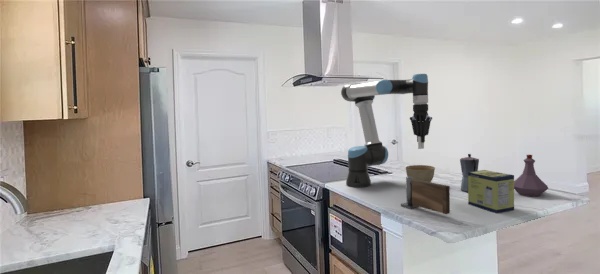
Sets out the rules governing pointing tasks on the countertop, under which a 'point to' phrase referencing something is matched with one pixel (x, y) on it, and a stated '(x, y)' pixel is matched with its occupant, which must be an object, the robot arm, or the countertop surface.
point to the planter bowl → (421, 172)
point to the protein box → (491, 190)
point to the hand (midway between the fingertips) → (421, 148)
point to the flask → (529, 180)
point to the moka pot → (467, 169)
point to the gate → (431, 196)
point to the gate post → (409, 194)
